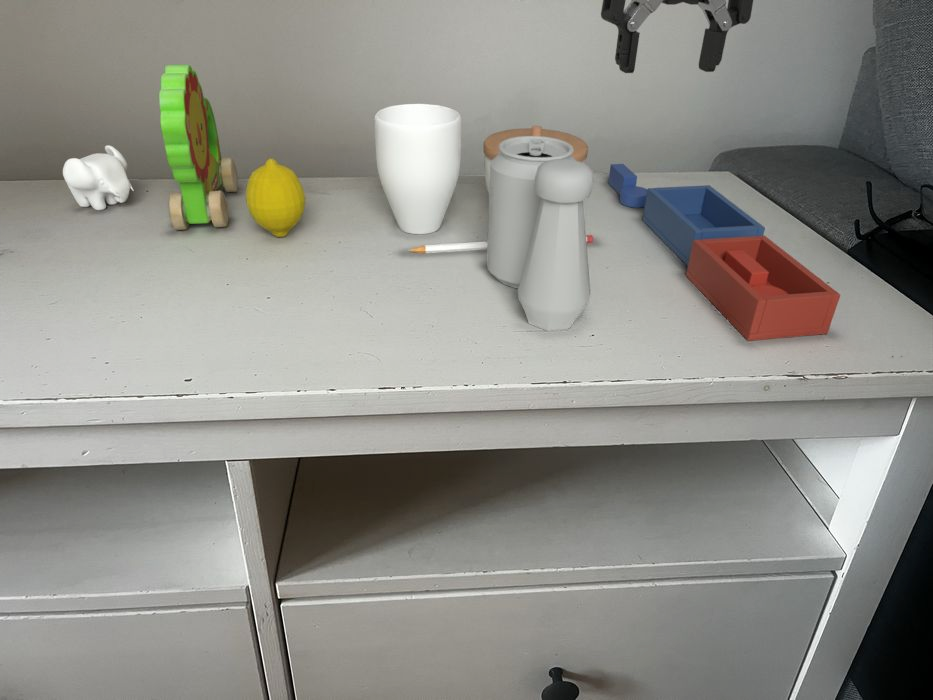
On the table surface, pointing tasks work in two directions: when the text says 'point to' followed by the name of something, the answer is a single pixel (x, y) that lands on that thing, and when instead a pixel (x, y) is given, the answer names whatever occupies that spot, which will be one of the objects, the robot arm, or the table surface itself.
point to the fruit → (275, 198)
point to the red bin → (744, 306)
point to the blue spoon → (627, 186)
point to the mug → (418, 162)
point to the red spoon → (751, 272)
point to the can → (516, 201)
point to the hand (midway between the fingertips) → (666, 71)
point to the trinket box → (495, 139)
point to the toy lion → (193, 151)
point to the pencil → (462, 246)
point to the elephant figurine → (98, 179)
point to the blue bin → (695, 217)
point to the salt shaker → (558, 247)
